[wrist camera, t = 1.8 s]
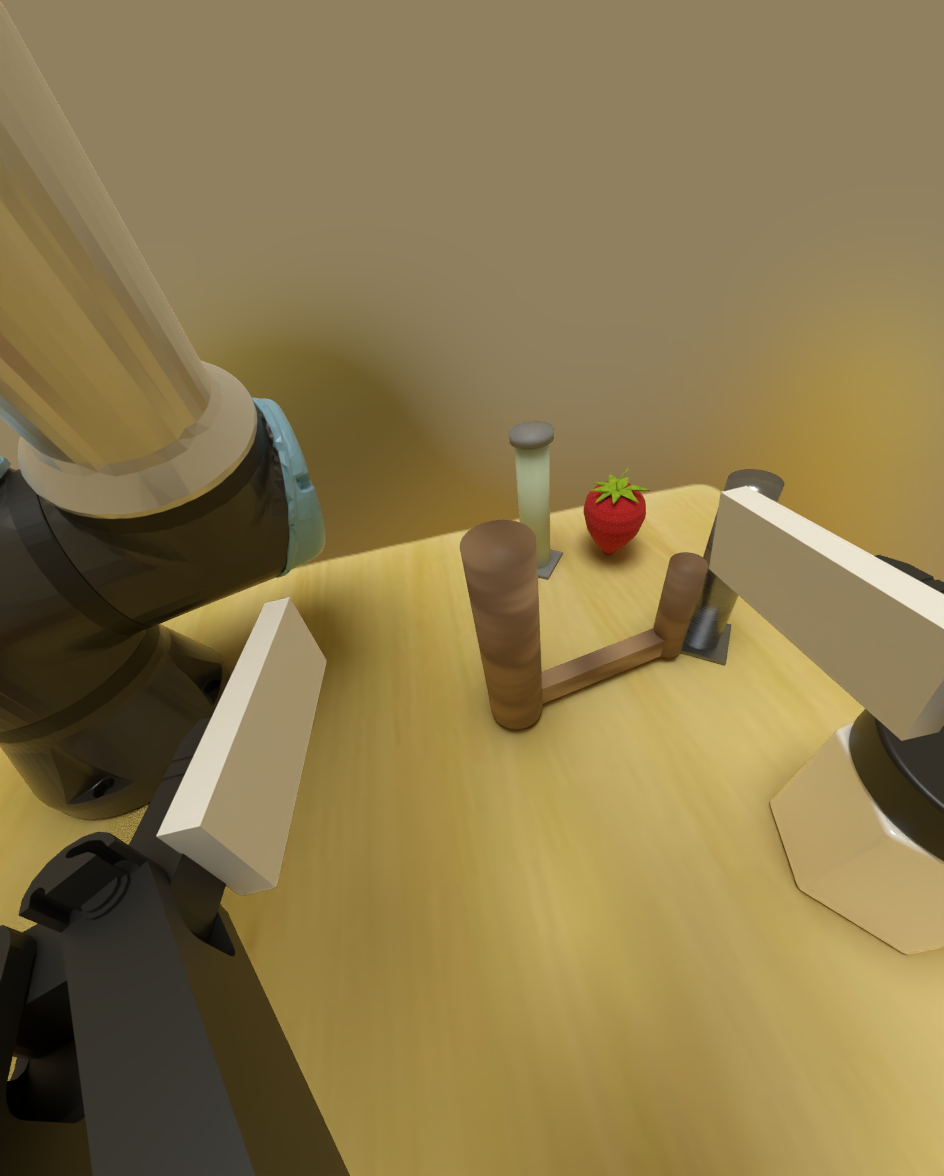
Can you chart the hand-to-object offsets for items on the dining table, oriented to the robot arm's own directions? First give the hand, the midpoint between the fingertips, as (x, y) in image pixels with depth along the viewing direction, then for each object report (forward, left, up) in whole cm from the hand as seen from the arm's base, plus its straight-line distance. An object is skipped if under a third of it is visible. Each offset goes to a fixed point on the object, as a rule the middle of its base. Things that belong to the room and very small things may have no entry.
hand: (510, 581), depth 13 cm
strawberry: (-3, +28, -21) cm, 36 cm away
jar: (+17, +6, -21) cm, 28 cm away
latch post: (-10, +24, -21) cm, 34 cm away
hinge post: (+7, +19, -21) cm, 30 cm away
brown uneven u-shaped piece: (0, +11, -20) cm, 23 cm away
